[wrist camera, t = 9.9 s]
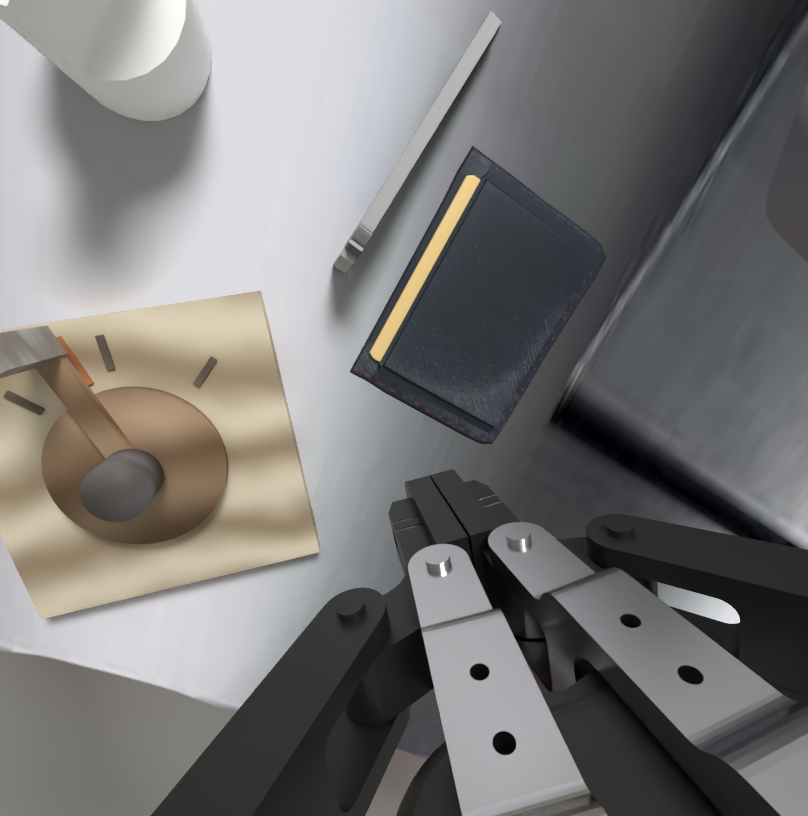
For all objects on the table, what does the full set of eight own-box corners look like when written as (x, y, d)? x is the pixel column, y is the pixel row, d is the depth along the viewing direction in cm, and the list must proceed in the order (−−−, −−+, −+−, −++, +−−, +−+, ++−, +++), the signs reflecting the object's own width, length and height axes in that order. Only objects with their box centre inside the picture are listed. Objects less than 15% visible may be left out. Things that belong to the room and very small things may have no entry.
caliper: (344, 274, 34) (351, 272, 28) (331, 265, 34) (336, 261, 27) (499, 25, 31) (543, -36, 25) (487, 13, 31) (529, -52, 25)
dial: (258, 491, 35) (245, 539, 28) (118, 563, 34) (71, 629, 28) (125, 291, 29) (71, 292, 23) (-45, 371, 29) (-152, 397, 22)
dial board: (319, 542, 39) (319, 553, 38) (51, 606, 36) (39, 621, 34) (260, 291, 33) (258, 291, 31) (-72, 340, 29) (-94, 343, 28)
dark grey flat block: (493, 454, 39) (343, 371, 34) (485, 447, 41) (341, 366, 36) (624, 254, 36) (481, 134, 32) (609, 256, 38) (472, 142, 34)
